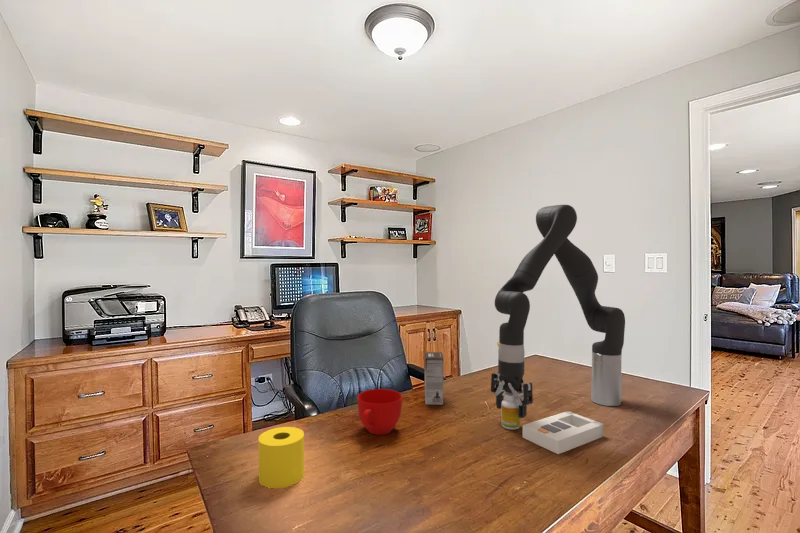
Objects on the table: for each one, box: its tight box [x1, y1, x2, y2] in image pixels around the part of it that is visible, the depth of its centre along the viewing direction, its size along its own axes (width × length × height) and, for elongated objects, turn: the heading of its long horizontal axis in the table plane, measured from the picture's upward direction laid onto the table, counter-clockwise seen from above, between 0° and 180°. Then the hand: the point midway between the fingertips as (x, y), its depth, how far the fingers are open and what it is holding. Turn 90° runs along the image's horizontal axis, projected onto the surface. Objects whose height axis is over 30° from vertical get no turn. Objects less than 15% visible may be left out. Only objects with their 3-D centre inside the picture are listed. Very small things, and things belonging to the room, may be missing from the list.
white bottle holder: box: [522, 410, 605, 455], centre depth 116 cm, size 20×12×4 cm, turn 122°
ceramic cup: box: [357, 388, 403, 436], centre depth 119 cm, size 13×17×10 cm
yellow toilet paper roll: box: [258, 426, 305, 489], centre depth 95 cm, size 10×10×9 cm
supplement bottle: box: [500, 392, 521, 431], centre depth 123 cm, size 5×5×10 cm
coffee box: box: [424, 351, 445, 406], centre depth 146 cm, size 9×6×16 cm
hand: (510, 412), depth 123 cm, fingers open, 8 cm apart
